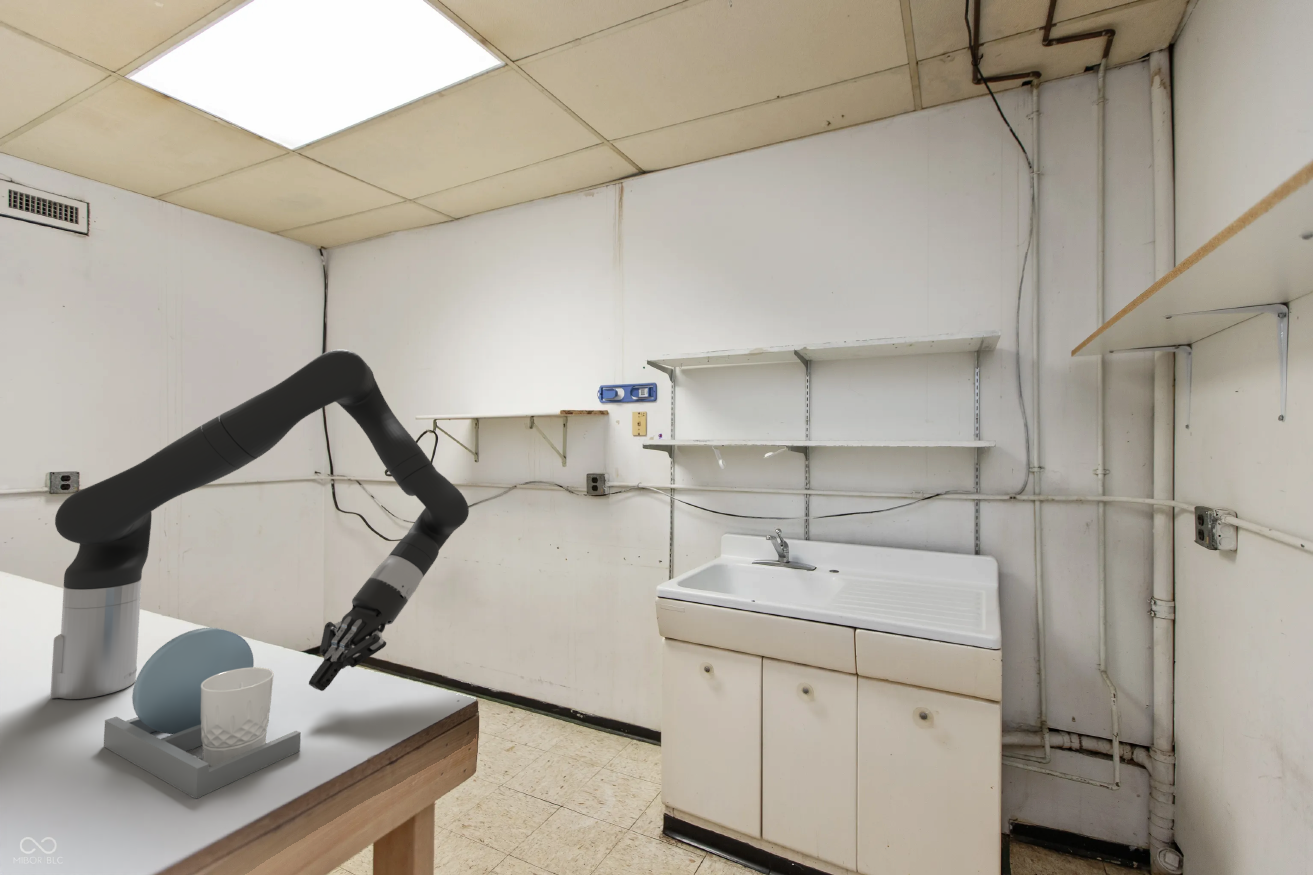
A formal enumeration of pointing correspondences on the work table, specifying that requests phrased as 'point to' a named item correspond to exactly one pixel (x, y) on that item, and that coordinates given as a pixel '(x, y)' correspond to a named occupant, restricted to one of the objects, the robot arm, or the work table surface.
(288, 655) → the work table surface
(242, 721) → the white cup
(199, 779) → the dish rack
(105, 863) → the work table surface
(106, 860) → the work table surface
